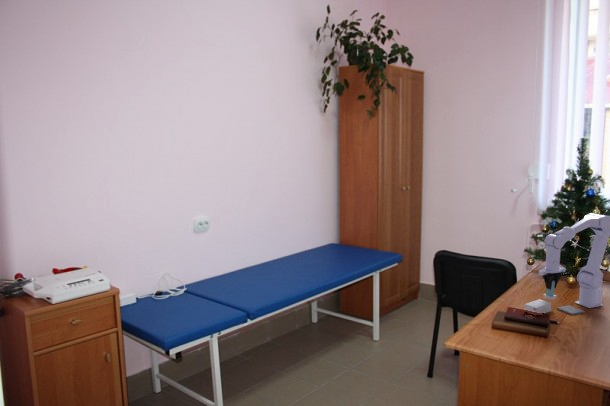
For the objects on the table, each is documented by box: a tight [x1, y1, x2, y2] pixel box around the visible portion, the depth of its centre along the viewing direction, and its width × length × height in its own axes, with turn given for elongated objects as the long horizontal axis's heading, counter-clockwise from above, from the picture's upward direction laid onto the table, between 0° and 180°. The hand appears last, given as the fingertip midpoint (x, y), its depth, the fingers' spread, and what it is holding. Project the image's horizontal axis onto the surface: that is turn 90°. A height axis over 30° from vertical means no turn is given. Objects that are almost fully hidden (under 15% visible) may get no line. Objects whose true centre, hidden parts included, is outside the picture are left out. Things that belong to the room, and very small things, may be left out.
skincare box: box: [523, 298, 552, 314], centre depth 214 cm, size 6×4×12 cm
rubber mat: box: [556, 304, 585, 316], centre depth 215 cm, size 8×8×1 cm
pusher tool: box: [542, 280, 558, 301], centre depth 218 cm, size 4×4×8 cm
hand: (550, 288), depth 217 cm, fingers closed on pusher tool, 2 cm apart
